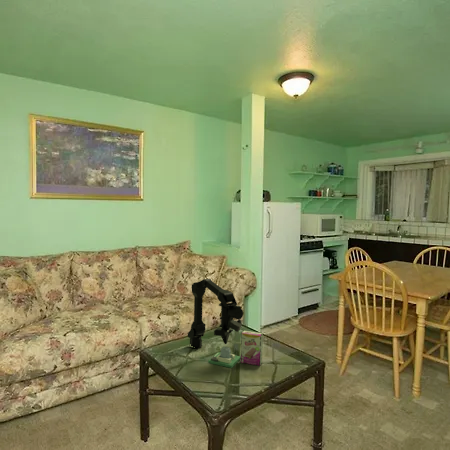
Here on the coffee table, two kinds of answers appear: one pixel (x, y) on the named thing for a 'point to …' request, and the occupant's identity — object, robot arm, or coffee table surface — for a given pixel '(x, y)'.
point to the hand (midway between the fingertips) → (225, 343)
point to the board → (224, 360)
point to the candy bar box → (251, 347)
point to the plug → (226, 352)
